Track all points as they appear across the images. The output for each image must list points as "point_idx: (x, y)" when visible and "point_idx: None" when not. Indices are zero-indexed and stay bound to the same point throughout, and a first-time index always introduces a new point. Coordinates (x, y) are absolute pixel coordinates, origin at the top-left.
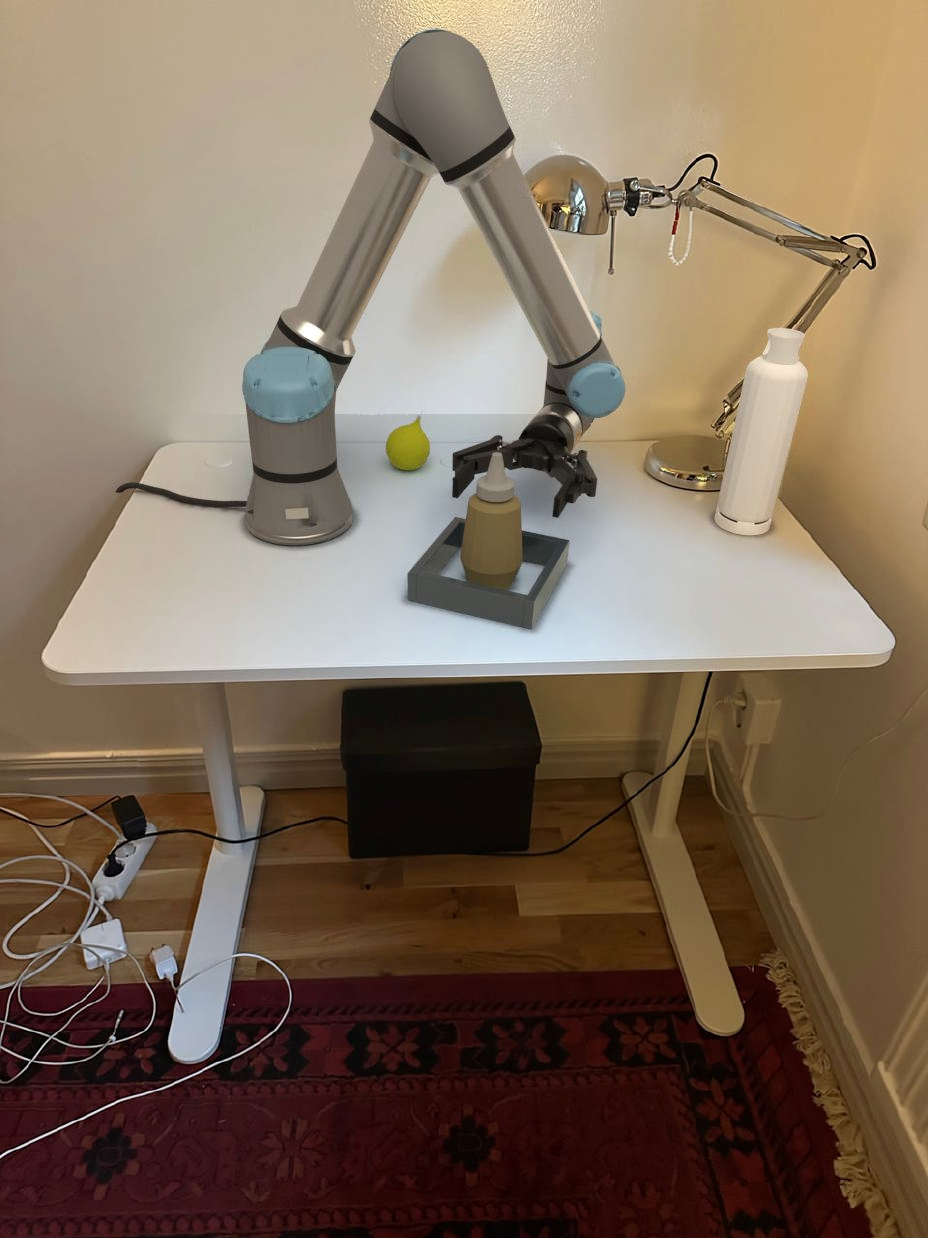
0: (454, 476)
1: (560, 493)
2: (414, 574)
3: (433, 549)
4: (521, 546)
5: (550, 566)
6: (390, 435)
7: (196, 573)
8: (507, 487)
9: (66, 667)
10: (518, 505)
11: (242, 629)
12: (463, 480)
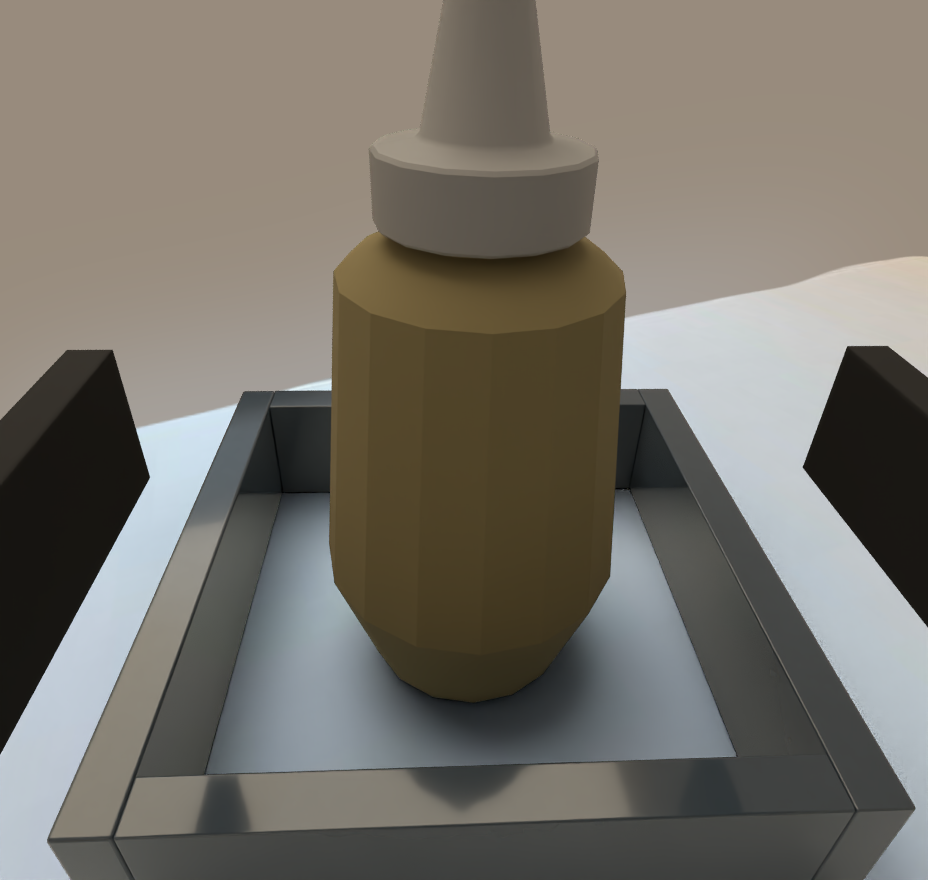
0: (908, 363)
1: (49, 392)
2: (644, 389)
3: (709, 497)
4: (332, 493)
5: (191, 548)
6: None
7: None
8: (395, 133)
9: (924, 257)
10: (340, 266)
11: (842, 334)
12: (891, 461)
